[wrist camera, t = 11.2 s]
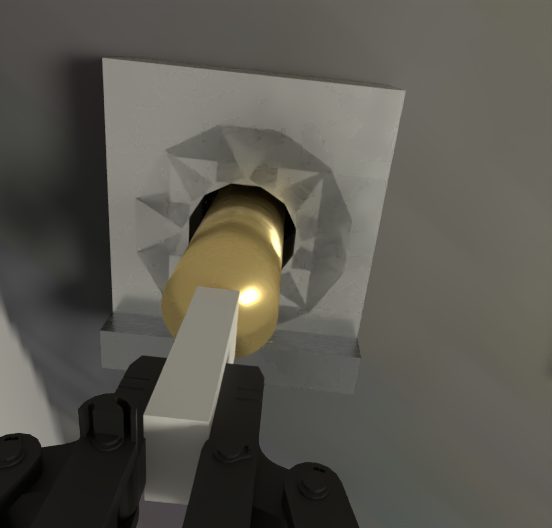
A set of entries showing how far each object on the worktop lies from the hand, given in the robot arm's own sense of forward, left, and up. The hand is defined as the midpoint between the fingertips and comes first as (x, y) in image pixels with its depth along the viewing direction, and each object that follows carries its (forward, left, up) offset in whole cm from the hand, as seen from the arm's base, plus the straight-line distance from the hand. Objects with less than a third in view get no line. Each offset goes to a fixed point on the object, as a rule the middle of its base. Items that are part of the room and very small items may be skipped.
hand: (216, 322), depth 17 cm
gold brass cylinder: (0, 0, -13) cm, 13 cm away
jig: (0, 0, -13) cm, 13 cm away
